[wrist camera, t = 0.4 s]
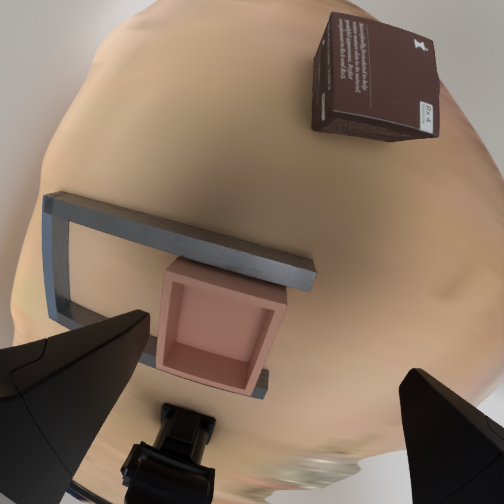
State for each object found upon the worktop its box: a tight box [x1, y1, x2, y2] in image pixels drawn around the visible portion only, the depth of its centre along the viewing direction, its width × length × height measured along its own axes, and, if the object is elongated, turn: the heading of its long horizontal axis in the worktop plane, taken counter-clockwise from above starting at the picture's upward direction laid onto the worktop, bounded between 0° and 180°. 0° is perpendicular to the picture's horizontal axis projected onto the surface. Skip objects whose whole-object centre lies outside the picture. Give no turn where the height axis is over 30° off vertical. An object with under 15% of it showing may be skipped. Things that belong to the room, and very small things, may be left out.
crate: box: [156, 256, 287, 396], centre depth 20 cm, size 9×8×4 cm
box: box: [311, 12, 440, 142], centre depth 13 cm, size 6×6×7 cm
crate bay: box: [42, 191, 317, 399], centre depth 21 cm, size 13×23×2 cm, turn 75°
